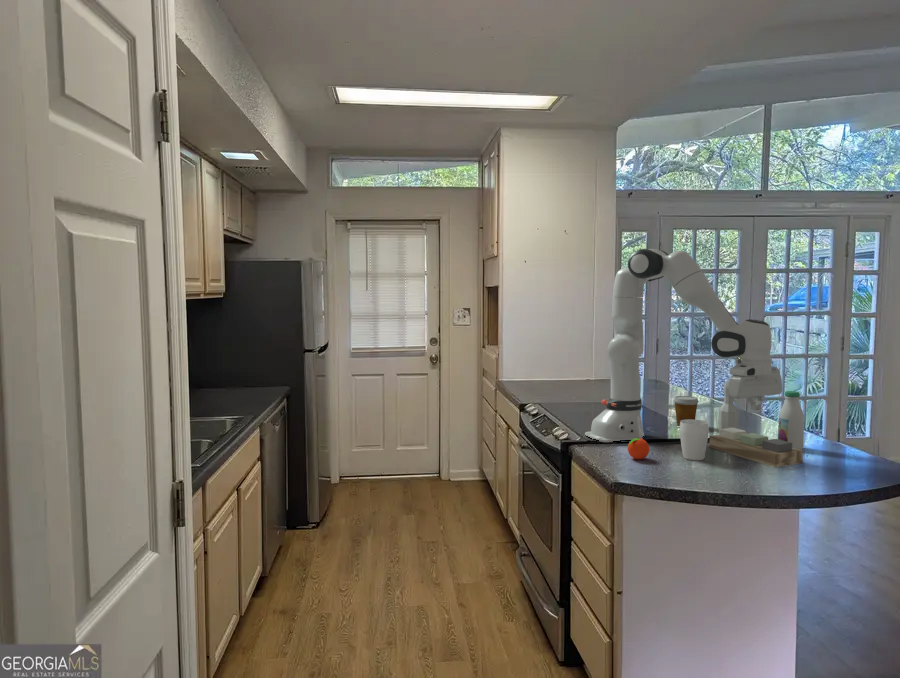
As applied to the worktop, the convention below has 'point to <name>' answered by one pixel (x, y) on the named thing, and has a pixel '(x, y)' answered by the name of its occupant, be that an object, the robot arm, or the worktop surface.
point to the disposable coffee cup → (685, 408)
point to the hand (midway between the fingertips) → (755, 409)
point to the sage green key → (752, 439)
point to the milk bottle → (791, 420)
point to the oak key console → (756, 452)
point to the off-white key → (731, 433)
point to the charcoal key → (777, 445)
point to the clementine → (638, 448)
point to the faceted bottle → (728, 411)
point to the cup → (694, 438)
